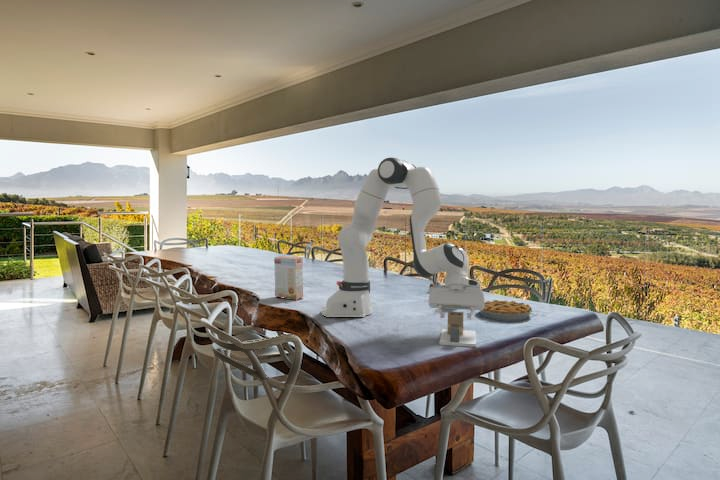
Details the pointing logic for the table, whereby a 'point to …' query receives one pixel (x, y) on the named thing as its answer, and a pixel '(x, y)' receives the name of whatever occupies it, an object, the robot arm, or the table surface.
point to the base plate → (464, 340)
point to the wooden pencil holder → (455, 321)
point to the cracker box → (288, 277)
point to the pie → (506, 310)
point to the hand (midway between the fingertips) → (455, 318)
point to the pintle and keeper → (454, 332)
